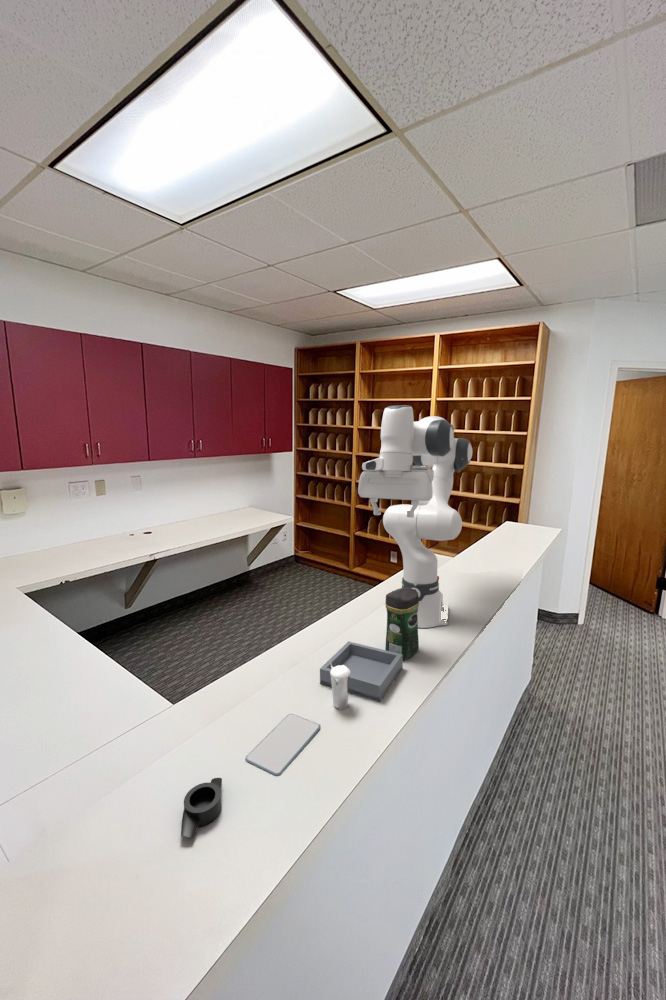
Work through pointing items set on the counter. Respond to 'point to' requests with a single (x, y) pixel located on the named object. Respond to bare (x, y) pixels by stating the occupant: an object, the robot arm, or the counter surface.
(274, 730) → the smartphone
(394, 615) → the coffee jar
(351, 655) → the tray
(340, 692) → the milkshake
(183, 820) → the black wing nut
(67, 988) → the counter surface
